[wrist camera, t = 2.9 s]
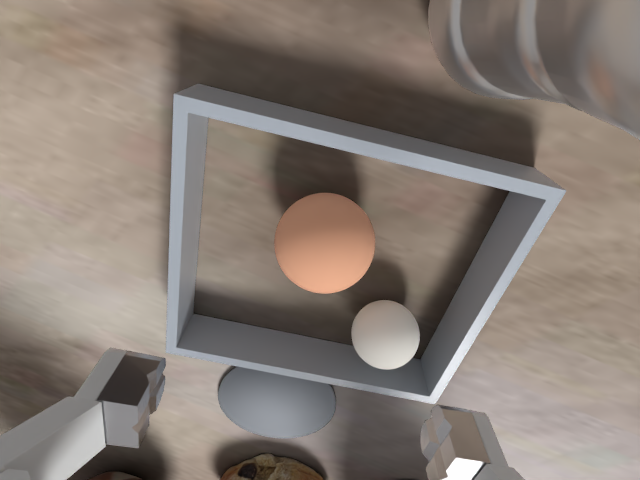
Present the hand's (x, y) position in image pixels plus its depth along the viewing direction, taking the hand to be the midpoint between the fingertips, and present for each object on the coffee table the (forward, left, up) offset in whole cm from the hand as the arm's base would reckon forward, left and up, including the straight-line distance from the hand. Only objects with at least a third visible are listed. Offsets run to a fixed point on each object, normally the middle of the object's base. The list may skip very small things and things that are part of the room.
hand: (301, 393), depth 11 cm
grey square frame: (-1, +2, -11) cm, 11 cm away
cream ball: (-5, +5, -11) cm, 13 cm away
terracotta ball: (0, 0, -11) cm, 11 cm away
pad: (0, +16, -11) cm, 19 cm away
